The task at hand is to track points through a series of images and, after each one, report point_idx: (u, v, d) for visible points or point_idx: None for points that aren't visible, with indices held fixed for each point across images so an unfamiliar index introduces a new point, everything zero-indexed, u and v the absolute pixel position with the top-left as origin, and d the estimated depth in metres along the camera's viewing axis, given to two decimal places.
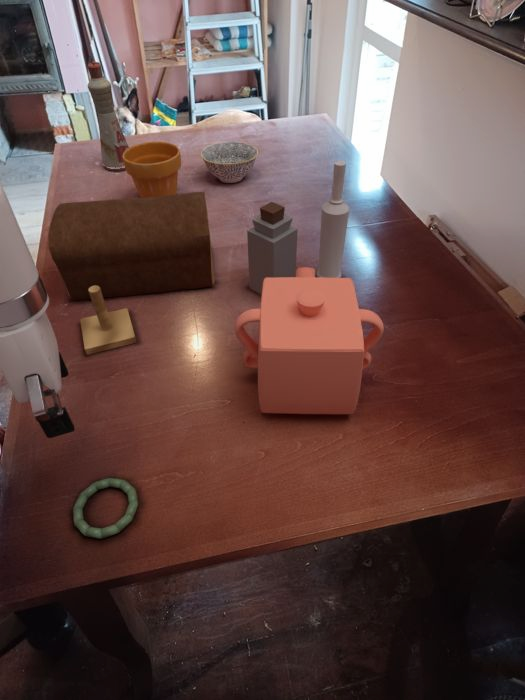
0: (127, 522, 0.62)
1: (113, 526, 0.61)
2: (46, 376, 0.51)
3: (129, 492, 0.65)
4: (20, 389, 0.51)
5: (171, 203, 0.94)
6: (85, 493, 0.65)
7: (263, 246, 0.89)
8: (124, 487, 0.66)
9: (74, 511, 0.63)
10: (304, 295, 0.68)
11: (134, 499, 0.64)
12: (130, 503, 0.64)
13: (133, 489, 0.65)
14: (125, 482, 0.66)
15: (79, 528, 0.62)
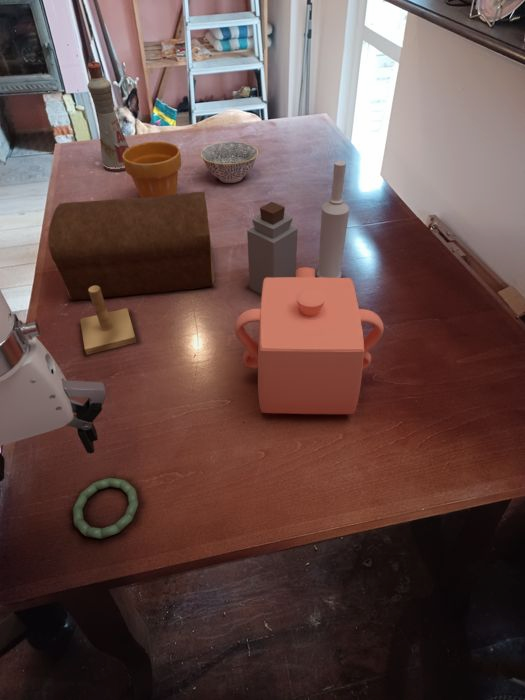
0: (127, 522, 0.62)
1: (113, 526, 0.61)
2: None
3: (129, 492, 0.65)
4: None
5: (171, 203, 0.94)
6: (85, 493, 0.65)
7: (263, 246, 0.89)
8: (124, 487, 0.66)
9: (74, 511, 0.63)
10: (304, 295, 0.68)
11: (134, 499, 0.64)
12: (130, 503, 0.64)
13: (133, 489, 0.65)
14: (125, 482, 0.66)
15: (79, 528, 0.62)
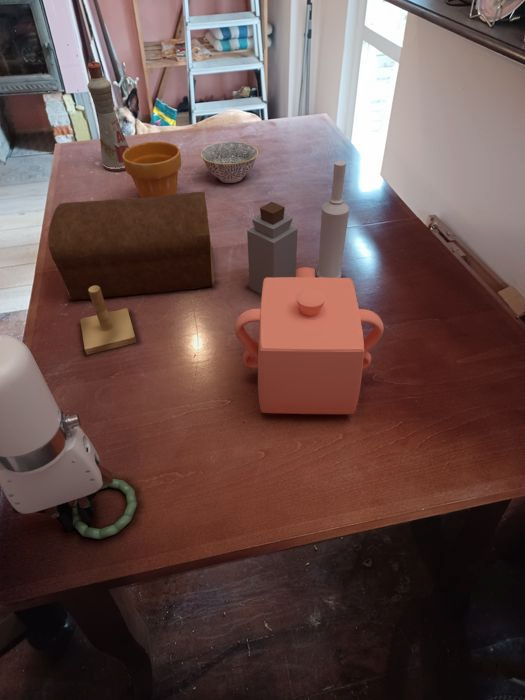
0: (126, 522, 0.62)
1: (112, 527, 0.61)
2: None
3: (128, 492, 0.65)
4: None
5: (171, 203, 0.94)
6: None
7: (263, 246, 0.89)
8: (123, 487, 0.65)
9: (73, 512, 0.63)
10: (304, 295, 0.68)
11: (132, 500, 0.64)
12: (129, 503, 0.64)
13: (132, 489, 0.65)
14: (124, 482, 0.66)
15: (78, 529, 0.62)
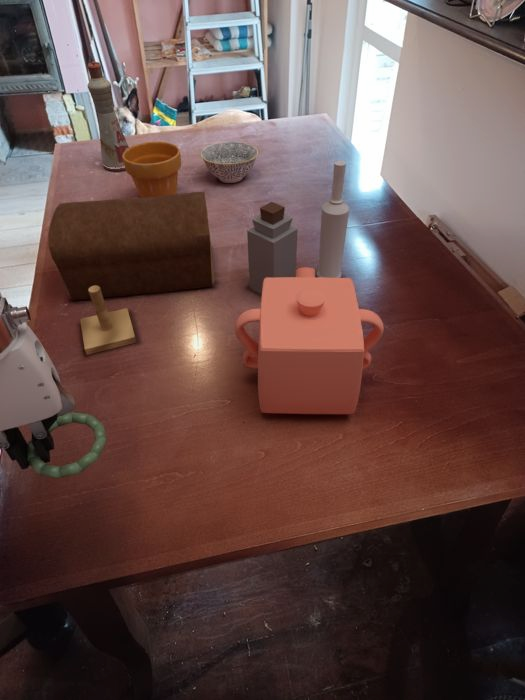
0: (92, 460, 0.52)
1: (74, 464, 0.51)
2: None
3: (96, 427, 0.54)
4: None
5: (171, 203, 0.94)
6: None
7: (263, 246, 0.89)
8: (90, 422, 0.55)
9: (28, 447, 0.52)
10: (304, 295, 0.68)
11: (101, 435, 0.54)
12: (96, 439, 0.53)
13: (101, 424, 0.55)
14: (92, 417, 0.56)
15: (33, 466, 0.51)
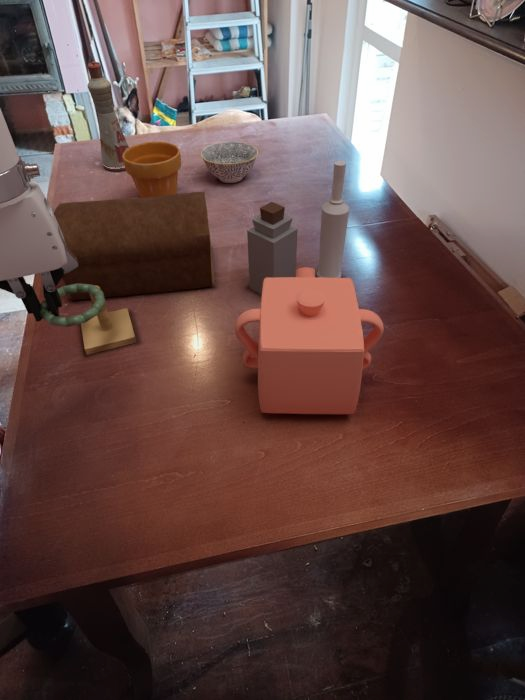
0: (93, 313, 0.63)
1: (78, 315, 0.62)
2: None
3: (96, 292, 0.65)
4: None
5: (171, 203, 0.94)
6: None
7: (263, 246, 0.89)
8: (92, 289, 0.66)
9: (41, 305, 0.64)
10: (304, 295, 0.68)
11: (101, 297, 0.65)
12: (97, 300, 0.64)
13: (101, 291, 0.66)
14: (94, 286, 0.67)
15: (45, 317, 0.62)
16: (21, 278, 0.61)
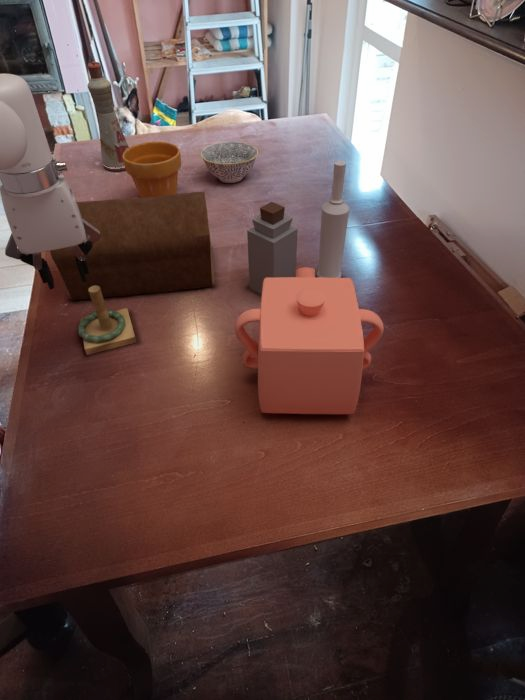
0: (117, 332, 0.87)
1: (107, 334, 0.86)
2: (12, 233, 0.70)
3: (119, 317, 0.89)
4: None
5: (171, 203, 0.94)
6: (86, 317, 0.89)
7: (263, 246, 0.89)
8: (115, 314, 0.90)
9: (79, 327, 0.87)
10: (304, 295, 0.68)
11: (122, 320, 0.89)
12: (119, 322, 0.88)
13: (122, 315, 0.90)
14: None
15: (83, 336, 0.86)
16: None
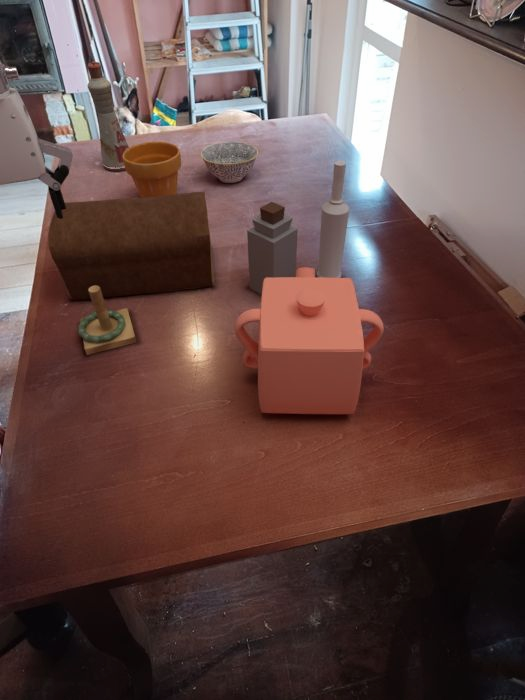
0: (117, 332, 0.87)
1: (107, 334, 0.86)
2: None
3: (119, 317, 0.89)
4: None
5: (171, 203, 0.94)
6: (86, 317, 0.89)
7: (263, 246, 0.89)
8: (115, 314, 0.90)
9: (79, 327, 0.87)
10: (304, 295, 0.68)
11: (122, 320, 0.89)
12: (119, 322, 0.88)
13: (122, 315, 0.90)
14: None
15: (83, 336, 0.86)
16: None
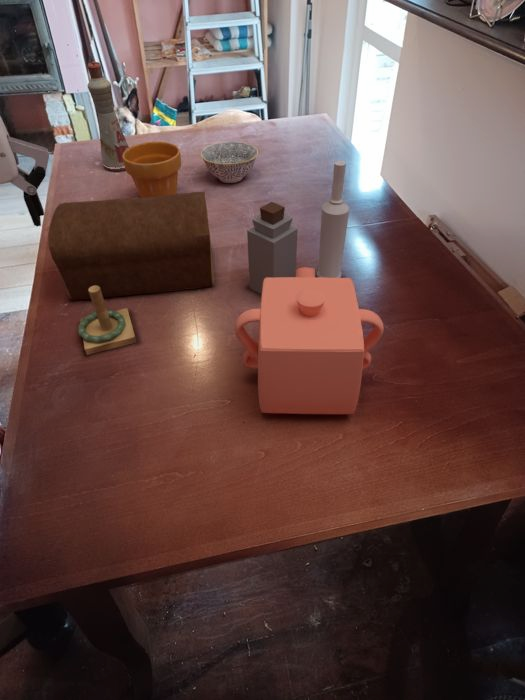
0: (117, 332, 0.87)
1: (107, 334, 0.86)
2: None
3: (119, 317, 0.89)
4: None
5: (171, 203, 0.94)
6: (86, 317, 0.89)
7: (263, 246, 0.89)
8: (115, 314, 0.90)
9: (79, 327, 0.87)
10: (304, 295, 0.68)
11: (122, 320, 0.89)
12: (119, 322, 0.88)
13: (122, 315, 0.90)
14: None
15: (83, 336, 0.86)
16: None
